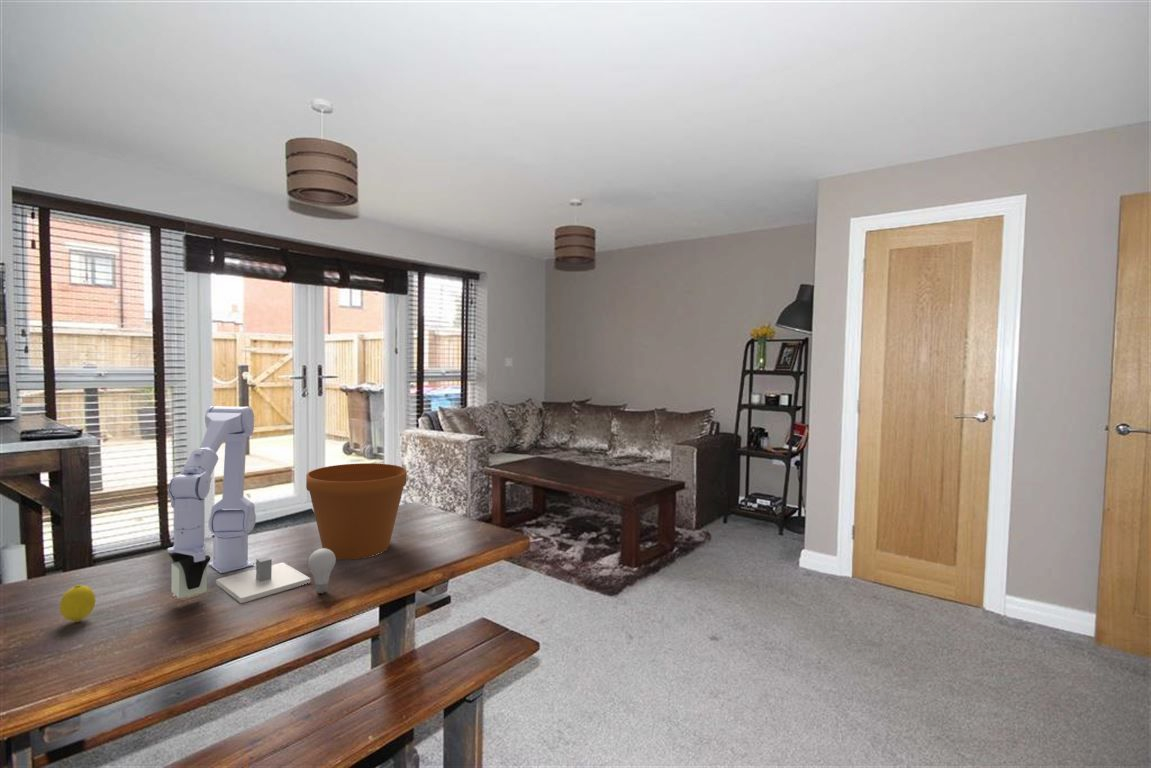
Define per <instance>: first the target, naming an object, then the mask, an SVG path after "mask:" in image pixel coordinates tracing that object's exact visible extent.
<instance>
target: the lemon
mask: <svg viewBox="0 0 1151 768" xmlns="http://www.w3.org/2000/svg"><path fill="white" fill-rule="evenodd" d="M95 605H96V596H95V592H94V590H93V589H92V588H90V586H87V585H81V584H76V585H75V586H73V587H71V588H70V589H68V590H67V591H65V593H63V595H62V597H61V599H60V604H59V611H60V614H61V616H62V617H63V618H64V619H65V620H68V621H74V623H79V622H81V621H82V620H83V619H84V618H86V617H87V616H89V615H90V614H91V613H92V611H93V610H94V608H95Z"/></svg>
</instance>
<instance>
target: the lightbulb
mask: <svg viewBox="0 0 1151 768" xmlns="http://www.w3.org/2000/svg"><path fill="white" fill-rule="evenodd" d="M336 560H337V559H336V557H335V554H334V553H333V552H332V551H331V550H329V549H326V548H318V549H316V550H314V551H313V552H312V553H311V554H310V556H309V558H308V563H307V564H308V569H309V570H310V572H311V574H312V575H313V579H314V584H315V592H316V593H318V594H320V593H321V594H325V592H328V586H329V585H328V584H329V581H330V576H331V572H332V570H333V569H334V567H335V565H336Z"/></svg>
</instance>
